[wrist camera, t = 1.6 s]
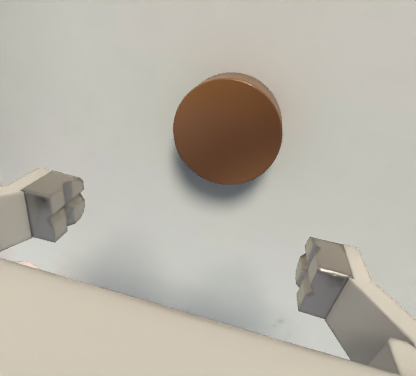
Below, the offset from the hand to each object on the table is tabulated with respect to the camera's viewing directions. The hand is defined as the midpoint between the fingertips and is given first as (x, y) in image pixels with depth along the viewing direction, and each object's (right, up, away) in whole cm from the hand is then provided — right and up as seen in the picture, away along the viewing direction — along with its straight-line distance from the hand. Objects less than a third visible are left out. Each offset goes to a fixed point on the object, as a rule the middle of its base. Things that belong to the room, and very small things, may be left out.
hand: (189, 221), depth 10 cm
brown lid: (+2, +5, +9) cm, 11 cm away
